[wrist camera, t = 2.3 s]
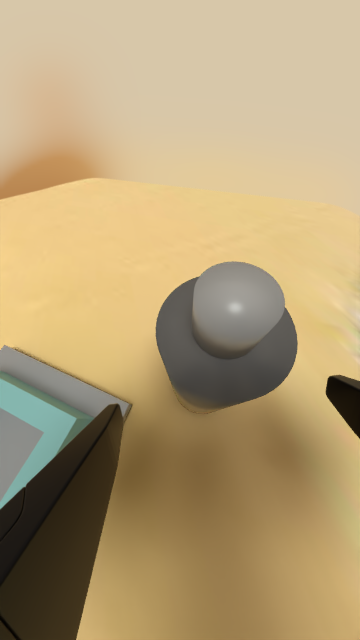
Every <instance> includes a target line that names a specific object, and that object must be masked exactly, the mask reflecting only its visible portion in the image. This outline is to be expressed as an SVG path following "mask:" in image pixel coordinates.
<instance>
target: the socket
mask: <svg viewBox="0 0 360 640" xmlns="http://www.w3.org/2000/svg"><path fill="white" fill-rule="evenodd" d="M115 403H118V404H119V405H120V408H121V412H122V416H123V423H124V421H125V419H126V417H127V415H128V412H129V410H130V408H131V406H132V405H131V404H129V403H127V402H125V401H123V400H121V399H119V398H117V397H114V396H112V395H110V394H108V393H106V392H104V391H102V390H100V389H97V388H95V387H93V386H91V385H89V384H87V383H85V382H83V381H81V380H78V379H76V378H74V377H72V376H70V375H68V374H66V373H64V372H61V371H59V370H57V369H55V368H53V367H51V366H49V365H47V364H45V363H42V362H40V361H38V360H36V359H34V358H32V357H30V356H28V355H25V354H23V353H21V352H19V351H17V350H15V349H13V348H10V347H8V346H6V345H4V346H3V348H2V349H1V350H0V509H1V508H2V507H3V506H4V505H5V504H6V503H7V502H8V501H9V500H10V499H11V498H12V497H13V496H14V495H15V494H17V493H18V492H19V491H20V490H21V489H22V488H23V487H26V484H27V483H28V482H29V481H30V480H31V479H32V478H33V477H34V476H35V475H36V474H37V473H38V472H39V471H40V470H41V469H42V468H43V467H44V466H46V465H47V464H48V463H49V462H50V461H51V460H52V459H53V458H54V457H55V456H56V455H57V454H58V453H59V452H60V451H61V450H62V449H63V448H64V447H65V446H66V445H67V444H68V443H69V442H70V441H71V440H72V439H73V438H74V437H75V436H76V435H78V434H79V433H80V432H81V431H82V430H83V429H84V428H85V427H86V426H87V425H88V424H89V423H90V422H91V421H92V420H93V419H94V418H95V417H96V416H97V415H98V414H99V413H100V412H101V411H102V410H103V409H104V408H105V407H106V406H108V405H109V404H115Z"/></svg>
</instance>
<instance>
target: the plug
mask: <svg viewBox="0 0 360 640" xmlns="http://www.w3.org/2000/svg"><path fill="white" fill-rule="evenodd" d="M156 340H157V346H158V349H159V352H160V355H161V358H162V360H163V363H164V365H165V368H166V371H167V373H168V376H169V378H170V381H171V384H172V386H173V389H174V391H175V394H176V396H177V398H178V400H179V402H180V403H181V404H182V405H183V406H184V407H185V408H187V409H188V410H190V411H192V412H195V413H200V414H205V413H210V412H213V411H217V410H220V409H223V408H226V407H230V406H233V405H236V404H240V403H243V402H246V401H250V400H253V399H256V398H258V397H261V396H264V395H266V394H267V393H269V392H271V391H272V390H274V389H275V388H276V387H278V386H279V385H280V384H281V383H282V382H283V381H284V379H285V378H286V377H287V376H288V374H289V372H290V371H291V369H292V367H293V364H294V362H295V358H296V354H297V334H296V330H295V326H294V323H293V321H292V318H291V316H290V314H289V312H288V311H287V309H286V308H285V299H284V294H283V292H282V289H281V287H280V286H279V284H278V283H277V281H276V280H275V279H274V278H273V277H272V276H271V275H270V274H268V273H267V272H266V271H264V270H262V269H261V268H259V267H256V266H254V265H251V264H248V263H243V262H225V263H220V264H217V265H214V266H212V267H210V268H208V269H207V270H206V271H204V272H203V273H202V274H201V276H199V277H196V278H193V279H191V280H189V281H187V282H185V283H183V284H182V285H180V286H179V287H177V288H176V289H175V290H174V291H173V292H172V293H171V294H170V295H169V296H168V297H167V299H166V300H165V302H164V303H163V305H162V307H161V309H160V311H159V314H158V318H157V323H156Z"/></svg>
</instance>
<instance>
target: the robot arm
mask: <svg viewBox="0 0 360 640" xmlns="http://www.w3.org/2000/svg"><path fill="white" fill-rule="evenodd" d="M326 395H327V397H328V399H329V400H330V402H331V403H332V404H333V405H334V407H335V408H336V409H337V411H338V412H339V413H340V415H341V416H342V417H343V419H344V420H345V421H346V423H347V424H348V425H349V426H350V428H351V429H352V430H353V431H354V433H355V434H356V435H357V436H358V437H359V439H360V381H357V380H354V379H351V378H348V377H345V376H342V375H334V376H330V377H329V378H328V381H327V387H326ZM122 430H123V416H122V412H121V408H120V405H119V404H118V403H115V404H109V405H108V406H106V407H105V408H104V409H103V410H102V411H101V412H100V413H99V414H98V415H97V416H96V417H95V418H94V419H93V420H92V421H91V422H90V423H89V424H88V425H87V426H86V427H85V428H84V429H83V430H82V431H81V432H80V433H79V434H78V435H76V436H75V437H74V438H73V439H72V440H71V441H70V442H69V443H68V444H67V445H66V446H65V447H64V448H63V449H62V450H61V451H60V452H59V453H58V454H57V455H56V456H55V457H54V458H53V459H52V460H51V461H50V462H49V463H48V464H47V465H46V466H44V467H43V468H42V469H41V470H40V471H39V472H38V473H37V474H36V475H35V476H34V477H33V478H32V479H31V480H30V481H29V482H28V483H27V484H26V487H23V488H22V489H21V490H20V491H19V492H18V493H17V494H15V495H14V496H13V497H12V498H11V499H10V500H9V501H8V502H7V503H6V504H5V505H4V506H3V507H2V508H1V509H0V640H76V638H77V633H78V629H79V625H80V621H81V617H82V613H83V608H84V604H85V600H86V596H87V592H88V587H89V583H90V579H91V575H92V571H93V567H94V562H95V558H96V554H97V550H98V546H99V541H100V537H101V533H102V529H103V525H104V520H105V516H106V512H107V508H108V504H109V500H110V495H111V491H112V487H113V483H114V479H115V474H116V470H117V465H118V459H119V452H120V445H121V437H122Z"/></svg>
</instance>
